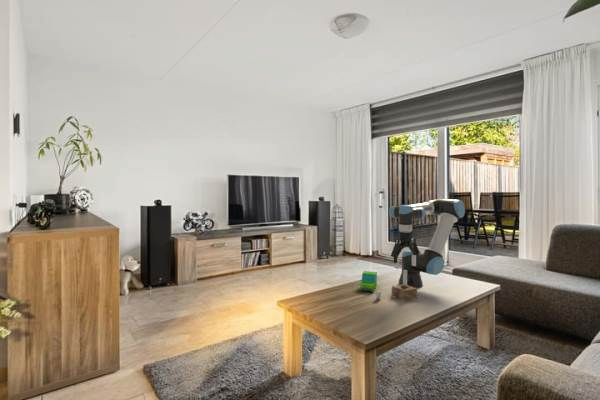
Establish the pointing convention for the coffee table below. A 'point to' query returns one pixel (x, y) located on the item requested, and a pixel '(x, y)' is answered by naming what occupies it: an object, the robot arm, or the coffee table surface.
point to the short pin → (378, 295)
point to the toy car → (368, 281)
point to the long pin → (404, 279)
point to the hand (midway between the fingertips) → (405, 267)
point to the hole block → (404, 292)
